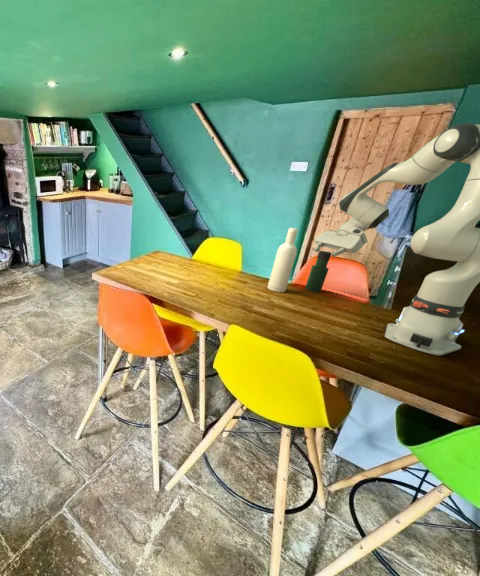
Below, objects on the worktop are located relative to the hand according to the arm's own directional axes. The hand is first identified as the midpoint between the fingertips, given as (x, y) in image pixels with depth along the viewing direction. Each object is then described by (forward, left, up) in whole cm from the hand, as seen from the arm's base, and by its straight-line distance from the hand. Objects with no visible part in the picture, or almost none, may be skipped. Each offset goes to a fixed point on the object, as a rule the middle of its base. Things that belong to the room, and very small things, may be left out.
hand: (324, 253), depth 144 cm
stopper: (+1, 0, -8) cm, 8 cm away
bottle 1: (-17, +9, -19) cm, 27 cm away
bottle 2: (+1, 0, -19) cm, 19 cm away
